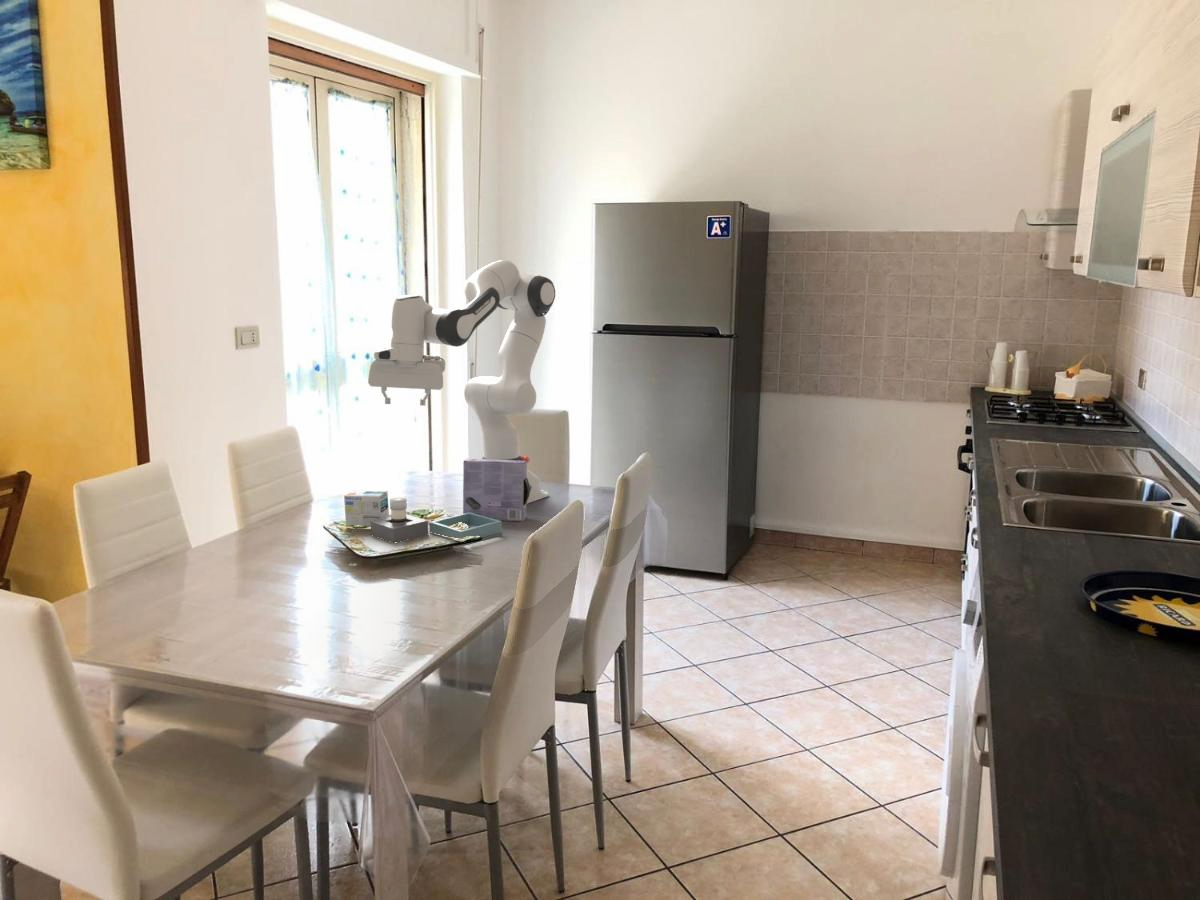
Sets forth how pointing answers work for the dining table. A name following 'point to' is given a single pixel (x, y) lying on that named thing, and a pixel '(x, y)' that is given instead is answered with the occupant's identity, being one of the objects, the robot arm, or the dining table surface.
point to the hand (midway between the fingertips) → (405, 404)
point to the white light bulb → (398, 510)
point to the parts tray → (474, 521)
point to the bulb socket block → (399, 529)
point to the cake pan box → (495, 488)
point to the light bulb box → (365, 507)
